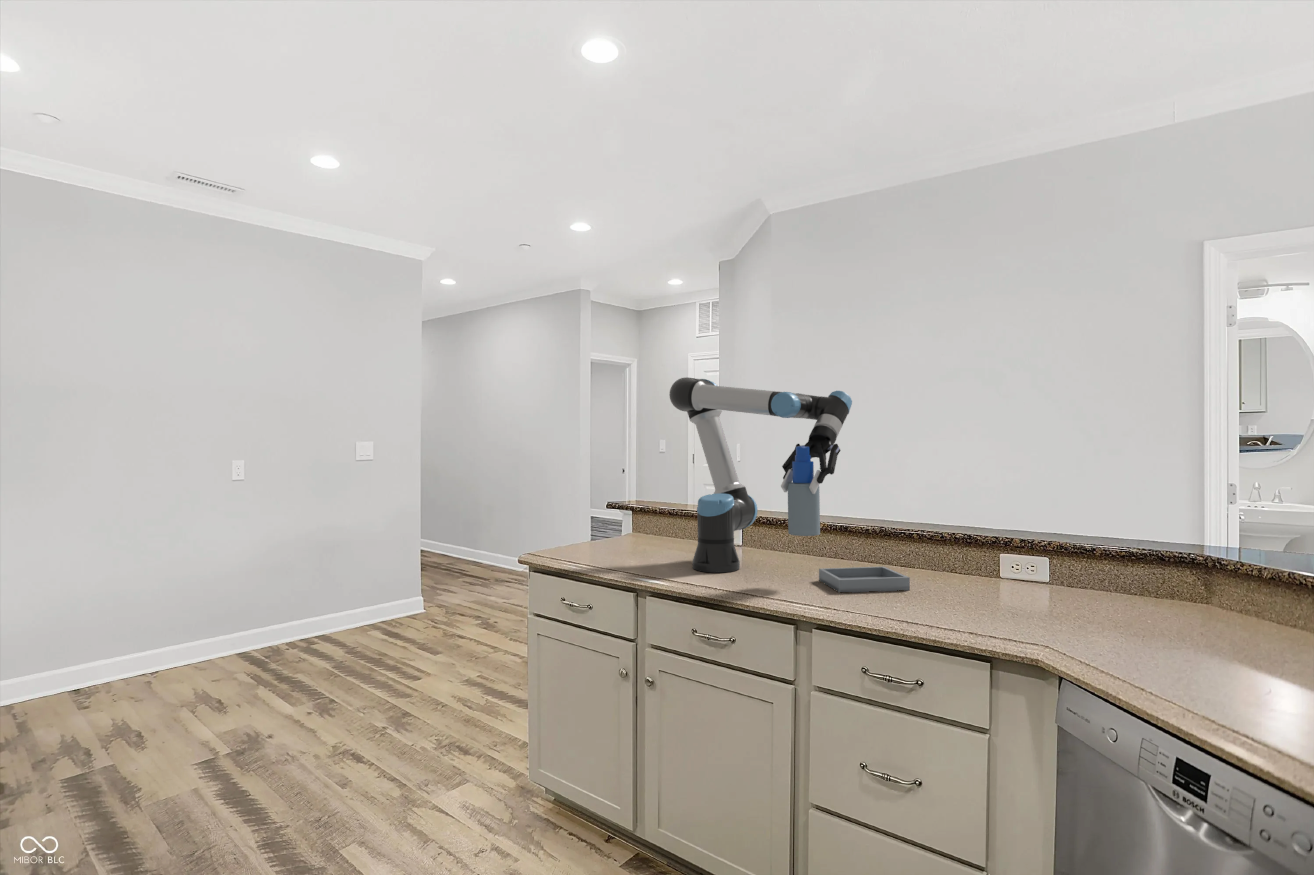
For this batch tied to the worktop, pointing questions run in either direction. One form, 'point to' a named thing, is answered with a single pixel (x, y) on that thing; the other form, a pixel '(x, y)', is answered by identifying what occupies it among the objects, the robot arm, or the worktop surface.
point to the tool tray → (864, 579)
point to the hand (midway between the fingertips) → (797, 489)
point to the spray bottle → (803, 497)
